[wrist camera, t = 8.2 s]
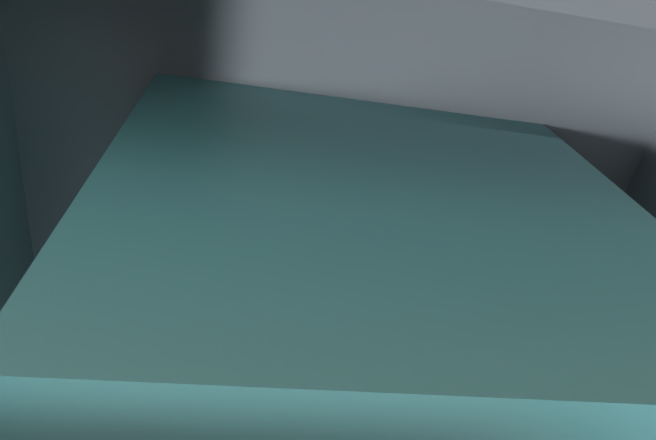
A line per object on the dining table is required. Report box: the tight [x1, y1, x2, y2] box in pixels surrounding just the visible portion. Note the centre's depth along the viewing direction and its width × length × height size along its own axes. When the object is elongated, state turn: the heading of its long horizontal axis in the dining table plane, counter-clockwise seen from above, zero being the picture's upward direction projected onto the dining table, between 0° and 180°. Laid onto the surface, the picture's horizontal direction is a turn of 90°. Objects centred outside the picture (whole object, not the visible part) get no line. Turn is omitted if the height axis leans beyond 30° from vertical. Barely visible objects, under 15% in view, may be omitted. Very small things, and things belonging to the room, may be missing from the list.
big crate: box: [0, 0, 656, 311], centre depth 9 cm, size 12×12×4 cm
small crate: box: [0, 73, 656, 440], centre depth 8 cm, size 6×6×6 cm
